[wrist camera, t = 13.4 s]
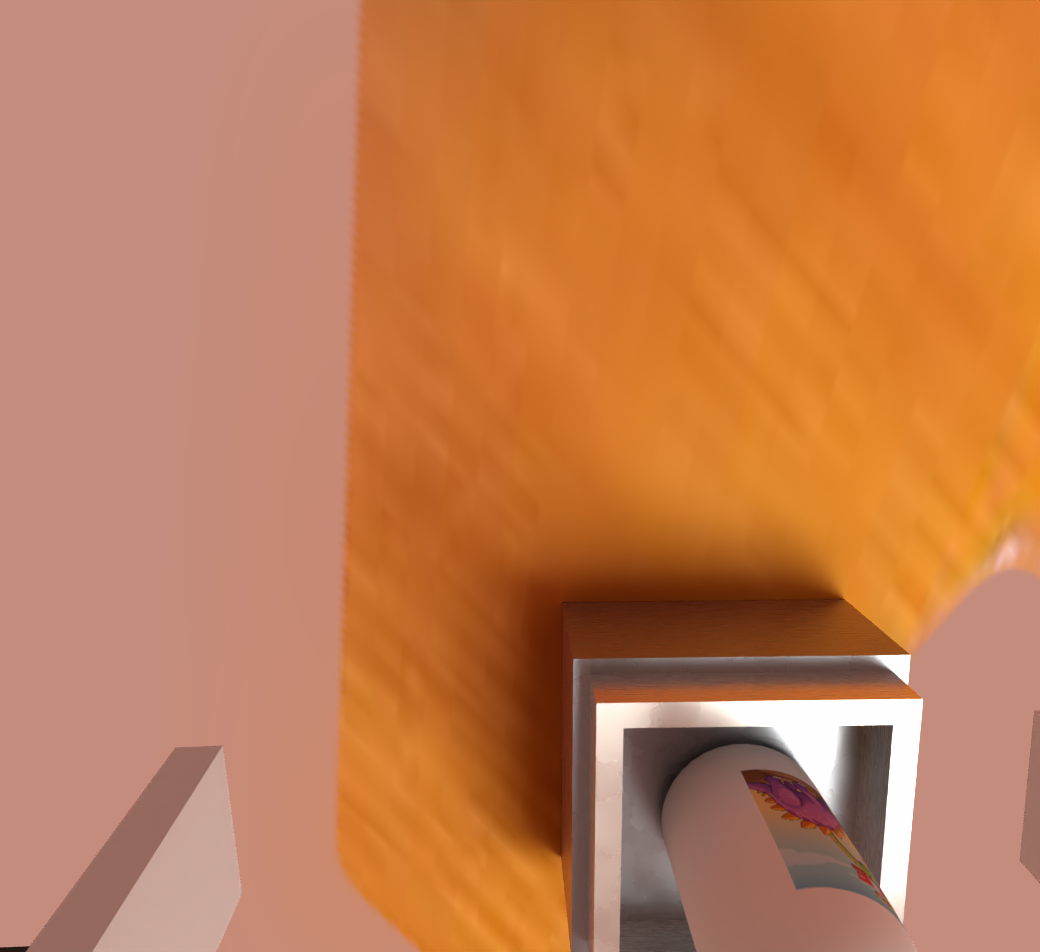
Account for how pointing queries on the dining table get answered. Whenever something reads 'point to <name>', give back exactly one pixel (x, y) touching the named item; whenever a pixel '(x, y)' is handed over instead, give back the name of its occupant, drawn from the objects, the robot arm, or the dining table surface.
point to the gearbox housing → (720, 741)
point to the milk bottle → (769, 861)
